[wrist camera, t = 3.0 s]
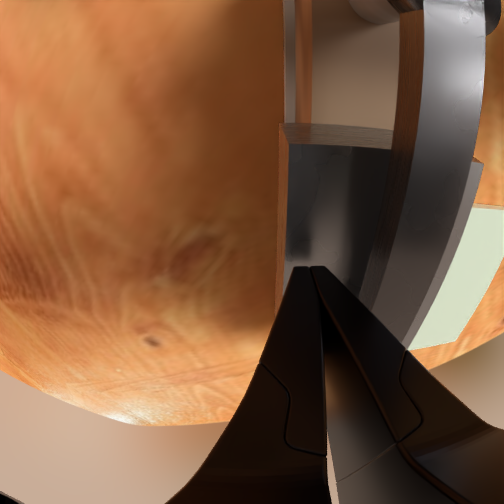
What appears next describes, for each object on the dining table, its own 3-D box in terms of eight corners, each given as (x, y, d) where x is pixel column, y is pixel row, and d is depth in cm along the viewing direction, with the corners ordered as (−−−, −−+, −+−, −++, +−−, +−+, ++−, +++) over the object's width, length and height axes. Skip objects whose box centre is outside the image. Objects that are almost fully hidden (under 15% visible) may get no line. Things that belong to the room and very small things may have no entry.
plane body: (281, -37, 7) (309, -112, 2) (387, -20, 7) (480, -52, 2) (277, 323, 20) (284, 414, 14) (344, 319, 20) (366, 405, 14)
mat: (516, 207, 14) (521, 212, 14) (452, 336, 22) (455, 341, 22) (383, 197, 14) (388, 202, 14) (340, 354, 23) (341, 359, 22)
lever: (363, -82, 2) (391, -107, 1) (468, -41, 2) (506, -47, 1) (312, 393, 12) (315, 422, 11) (369, 386, 12) (376, 413, 11)
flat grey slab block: (442, 138, 8) (483, 164, 6) (390, 313, 14) (405, 352, 12) (278, 122, 8) (289, 143, 6) (274, 321, 14) (277, 366, 12)
